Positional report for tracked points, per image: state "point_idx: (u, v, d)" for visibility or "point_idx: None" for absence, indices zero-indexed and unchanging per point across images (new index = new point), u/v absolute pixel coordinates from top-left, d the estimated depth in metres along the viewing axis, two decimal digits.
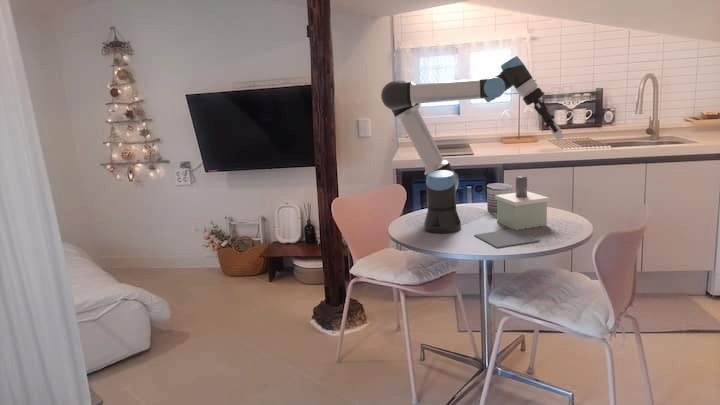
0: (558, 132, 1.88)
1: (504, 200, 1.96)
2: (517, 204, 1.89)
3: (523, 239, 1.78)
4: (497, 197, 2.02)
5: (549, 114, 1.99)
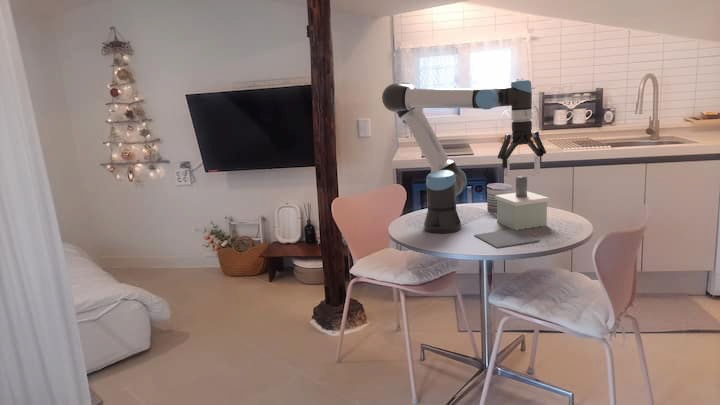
0: (506, 169, 1.93)
1: (504, 200, 1.96)
2: (517, 204, 1.89)
3: (523, 239, 1.78)
4: (497, 197, 2.02)
5: (535, 150, 1.94)
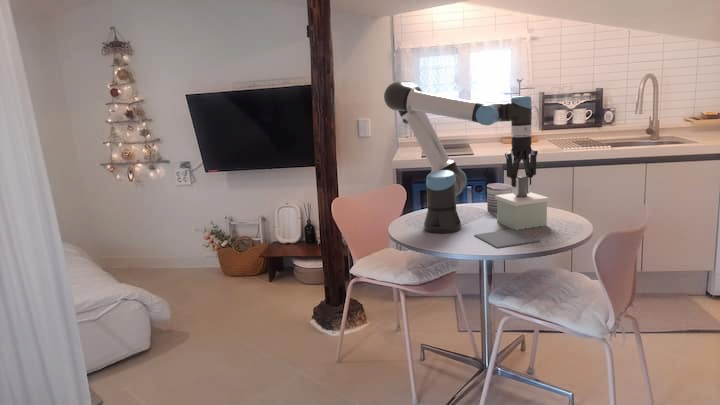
0: (515, 188, 1.96)
1: (504, 200, 1.96)
2: (517, 204, 1.89)
3: (523, 239, 1.78)
4: (497, 197, 2.02)
5: (527, 169, 1.95)
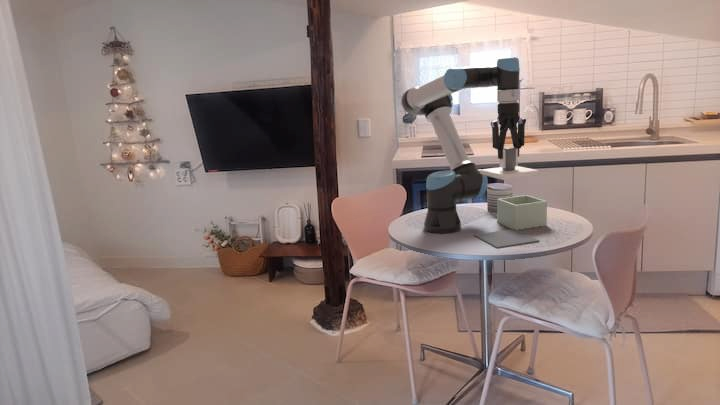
0: (502, 160, 1.78)
1: (490, 174, 1.78)
2: (504, 177, 1.71)
3: (523, 239, 1.78)
4: (482, 171, 1.83)
5: (515, 139, 1.77)
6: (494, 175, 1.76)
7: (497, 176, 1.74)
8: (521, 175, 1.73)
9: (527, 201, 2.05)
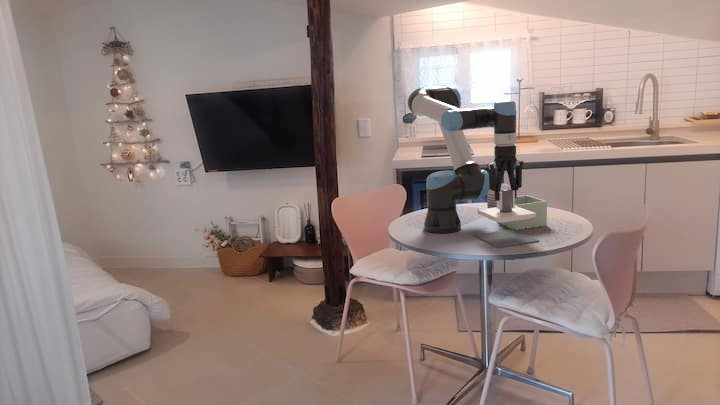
0: (499, 202, 1.78)
1: (487, 215, 1.79)
2: (500, 221, 1.72)
3: (523, 239, 1.78)
4: (480, 212, 1.84)
5: (512, 181, 1.77)
6: (490, 217, 1.76)
7: (493, 219, 1.74)
8: (517, 218, 1.73)
9: (527, 201, 2.05)
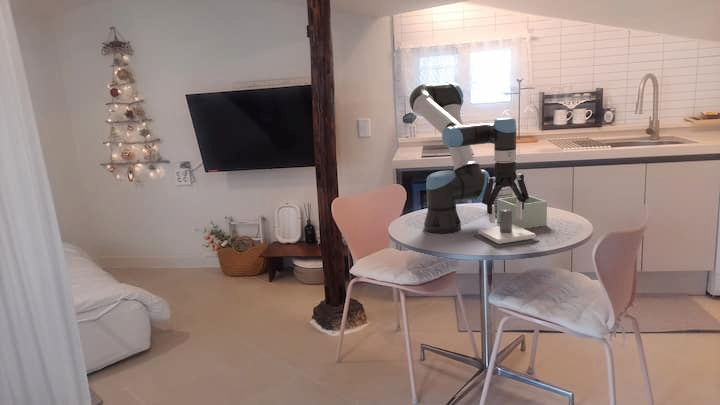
0: (491, 216, 1.78)
1: (487, 236, 1.80)
2: (500, 242, 1.73)
3: None
4: (480, 231, 1.86)
5: (518, 195, 1.79)
6: (490, 238, 1.78)
7: (493, 239, 1.76)
8: (517, 239, 1.75)
9: (527, 201, 2.05)
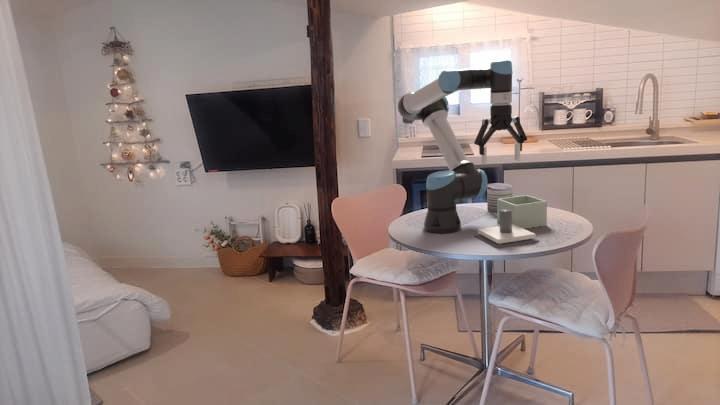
0: (483, 156, 1.81)
1: (487, 236, 1.80)
2: (500, 242, 1.73)
3: None
4: (480, 231, 1.86)
5: (515, 136, 1.81)
6: (490, 238, 1.78)
7: (493, 239, 1.76)
8: (517, 239, 1.75)
9: (527, 201, 2.05)
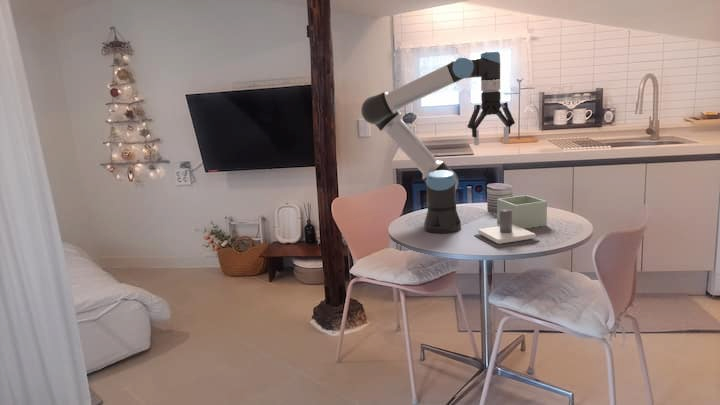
0: (476, 139, 1.99)
1: (487, 236, 1.80)
2: (500, 242, 1.73)
3: None
4: (480, 231, 1.86)
5: (504, 120, 2.00)
6: (490, 238, 1.78)
7: (493, 239, 1.76)
8: (517, 239, 1.75)
9: (527, 201, 2.05)
